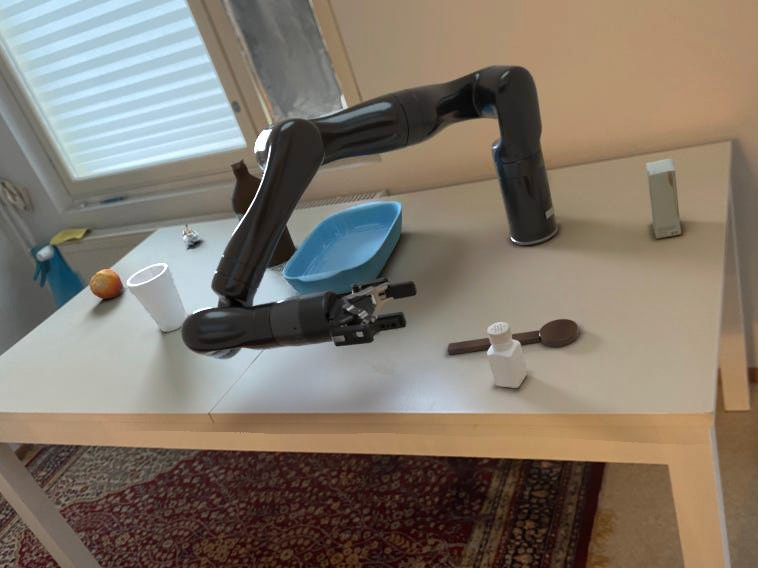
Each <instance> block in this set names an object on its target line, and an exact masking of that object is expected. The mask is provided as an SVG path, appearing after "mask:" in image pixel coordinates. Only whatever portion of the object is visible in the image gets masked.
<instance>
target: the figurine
mask: <svg viewBox="0 0 758 568" xmlns="http://www.w3.org/2000/svg"><path fill="white" fill-rule="evenodd" d="M184 227H185V229H184V230H183V232H182V236H183V238H182V242H183V244H187V245H189V246H194V245H195V243H196V242H197V241H198V239H199V233H198V232H197V231H196V230H194V229H192V228H191V227H189V225H188V224H187V223H185V224H184Z"/></svg>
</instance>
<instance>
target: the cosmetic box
mask: <svg viewBox="0 0 758 568" xmlns="http://www.w3.org/2000/svg"><path fill="white" fill-rule="evenodd" d="M645 166H646V167H645V168H646V176H647V177H646V178H647V183H648V193H649V200H650V202H649V203H650V211H651V217H652V226H653V231H654V236H655V238H656V239H663V238H668V237H673V236H679V235H681V234H682V228H681V219H680V209H679V208H680V207H679V197H678V187H677V177H676V168H675V164H674V161H673V160H672V158H670V157H669V158H665V159H659V160H655V161H649V162H646V163H645Z"/></svg>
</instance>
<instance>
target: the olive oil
mask: <svg viewBox="0 0 758 568" xmlns="http://www.w3.org/2000/svg"><path fill="white" fill-rule="evenodd" d="M229 165H230V167H231V171H232V173H233V175H234V177H235V182H234V185H233V188H232V190H231V194H230V205H231V208H232V211H233V213H234V215H235V218H237V221H238V223H240V222H241V220H242V219H243V217H244V216H245V214H246V213H247V211H248V210H249V208H250V206H251V204H252V202H253V200H254V199H255V197H256V195H257V192H258V190H259V188H260V185H261V183H262V180H263V178H262V179H261V178H259V177H257V176H255V175H253V174H251V173H250V171H249V169H248V166H247V164H246V163H245V161H244V159H243V158H237V159H234V160H232V161H231V162H230V163H229ZM296 251H297V249H296V245H295V244H294V240H293V238H292V235H291V233H290V230H289V228H288V226H287V224H286V226H285V228H284V230H283V232H282V234H281V236H280V239H279V241H278V243H277V245H276V247H275V250H274V252H273V254H272V257H271V259H270V261H269V264H268V266H267V267H271V266H276V265H279V264H282V263H284V262H286V261H287V260H290V259H291V257H292V256H293V255H294V253H295V252H296Z"/></svg>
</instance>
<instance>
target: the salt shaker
mask: <svg viewBox="0 0 758 568" xmlns="http://www.w3.org/2000/svg"><path fill="white" fill-rule="evenodd" d="M486 332H487V336H488V338H489V340H490V343H491V344H492V345H491V347H490V348H489V349H487V352H486V354H487V355H486V356H487V360H488V363H489V367H490V371H491V374H492V377H493V381H494V384H495V385H496V386H497V387H504V388H513V389H518V388H519V387H520V386H521V384H522V383H523V381H524V380H525V378H526V377H527V376H528V375H527V374H528V368H527V364H526V360H525V356H524V352H523V348H522V345H521V344H520V342H519V341H517V340H513V339H512V334H513V333H512V331H511V327H510V324H509V323H508V322H505V321H499V322H498V321H497V322H494V323H492V324H490V325H489V326H488V327H487V330H486Z"/></svg>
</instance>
